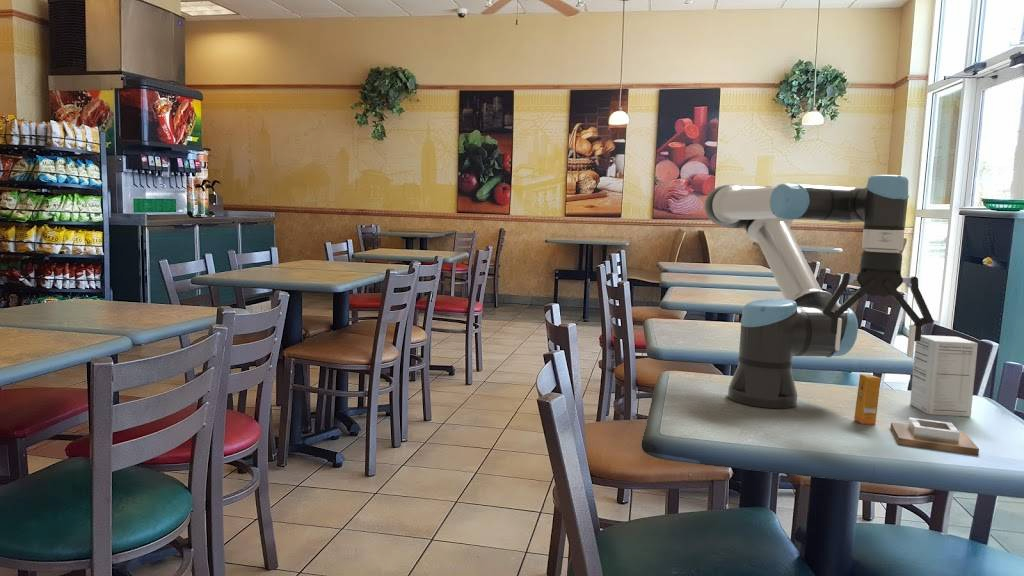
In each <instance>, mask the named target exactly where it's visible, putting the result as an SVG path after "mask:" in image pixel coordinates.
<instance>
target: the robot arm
mask: <svg viewBox="0 0 1024 576" xmlns="http://www.w3.org/2000/svg"><path fill="white" fill-rule="evenodd" d="M867 179H868V180H867V184H866V186H857V187H853V186H852V187H851V186H836V185H835V186H834V185H817V184H816V185H815V184H800V183H797V182H794V183H793V182H790V183H789V182H788V183H780V184H777V185H776V186H771V185H770V186H769V185H768V186H765V185H764V186H755V185H742V184H741V185H740V184H724V185H720V186H718V187H715V188H714V189H712V190H710V192H709V193H708V195H707V196H706V199H705V201H704V212H705V214H706V216H707V217H708V220H710V221H711V222H712V223H714V224H715V225H717V226H720V227H723V228H728V229H743V230H745V231H746V234H747V236H748V237H749V239H750V240H751V241H753V242H754V243H757V244H758V245H759V247H760V249H761V252H762V254H763V256H764V259H765V261H766V262H767V264H768V266H769V269H770V271H771V274H772V275H773V277H774V279H775V281H776V283H777V286H778V288H779V290H780V292H781V294H782V296H783V298H779V299H774V298H769V299H768V298H767V299H766V298H765V299H757V300H753V301H749V302H748V303H746V304H745V305H744V306H743V309H742V313H741V318H740V336H739V349H738V362H737V367H736V369H735V371H734V374H733V375H732V378H731V381H730V383H729V385H728V389H727V391H728V392H727V397H728V398H729V399H730V400H732V401H734V402H735V403H740V404H744V405H747V406H751V407H752V406H753V407H758V408H765V409H767V408H768V409H790V408H794V407H796V406H797V405H798V393H797V392H798V391H797V387H796V385H795V380H794V376H793V372H792V368H793V367H792V366H793V365H792V364H793V357H826V358H832V357H841V356H844V355H847V353H849V352H850V351H851V350H852V349H853V347H854V346H855V343H856V341H857V337H858V333H859V324H858V318H857V315H856V313H855V312H854V311H853V310H852V308H851V307H852V306H853V305H855V303H856V302H858V300H860V298H862V297H863V296H864V295H865V294H866V295H868V296H870V297H871V296H872V297H877V296H880V297H882V298H883V297H884V298H887V297H890V296H892V298H893V299H894V300H895V301H896V303H898V305H899V306H900V307H901V308H902V309H903V311H904V312H905V313H906V315H907V316H908V317H909V319H911V321H912V322H913V323H910V324H909V329H908V339H907V346H906V347H907V348H906V350H907V351H906V356H907V357H908V358H911V359H914V353H915V342H916V341H920V339H921V335H922V329H923V326H924V325H927V324H932V323H933V322H934V318H933V316H932V314H931V313H930V311H929V308H928V306H927V304H926V301H925V300H924V297H923V295H922V293H921V291H920V288H919V278H918V277H916V276H915V275H911V276H909V277H908V276H907V277H904V276H902V265H903V263H902V262H903V254H902V253H900V251H902V250H903V249H904V243H905V242H904V240H905V229H906V228H905V227H906V219H907V211H908V202H909V197H910V195H909V179H908V177H906V176H905V175H901V174H900V175H897V174H875V175H872V176H870V177H868V178H867ZM794 220H799V221H800V220H803V221H824V222H825V221H827V222H838V223H847V224H848V223H849V224H850V223H863V229H862V230H863V233H862V240H861V241H862V243H861V244H862V245H861V248H862V249H864V251H862V252H861V254H860V256H861V257H860V267H859V272H858V274H855V273H854V274H853V273H849V272H848V271H845V272H843V273H842V279H841V282H840V284H839V285H838V287H837V288H836V289H835V291H834V293H833V294H832V293H830V291H825V290H822V288H821V286H820V284H819V282H818V280H817V278H816V276H815V275H814V272H813V271H812V268H811V266H810V265H809V263H808V261H807V260H806V257H805V255H804V253H803V251H802V250H801V248H800V246H799V244H798V241H797V239H796V237H795V236H794V234H793V232H792V230H791V226H792V223H793V221H794ZM854 281H857V282H858V283H857V284H858V285H860V287H859V288H858V289H857V290H856V291H855V292H854V293H853V294H852V295H851V296H849V298H847V299H845V301H844V302H843V303H842V304H841V305H840V306H839V305H838V304H837V302H838V301H839V300H840V297H842V296H843V293H845V290H846V289H847V287H848V285H849V284H853V282H854ZM902 284H905V286H906V288H909V289H910V291H911V294H912V296H913V298H914V300H915V302H916V305H917V307H918V308H919V309H918V310H919V312H920V314H921V316H922V317H919V316H918V314H917V313H916V312H915V311H914V310H913V308H912V306H911V305H910V304H908V302H907V300H905V298H904V297H903V295H901V293H900V292H899V291H898V289H899V287H900V286H902Z"/></svg>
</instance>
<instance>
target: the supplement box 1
mask: <svg viewBox="0 0 1024 576" xmlns="http://www.w3.org/2000/svg"><path fill="white" fill-rule="evenodd" d="M881 379H882V378H881V377H878V376H876V375H872V374H865V373H864V374H863V373H860V374H859V379H858V388H857V394H856V395H857V396H856V401H855V402H856V403H855V409H854V417H853V419H854V421H856V422H859V423H860V424H863V425H876V421H877V413H878V407H879V406H878V404H879V395H880V387H881Z"/></svg>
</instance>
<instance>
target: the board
mask: <svg viewBox="0 0 1024 576" xmlns="http://www.w3.org/2000/svg"><path fill="white" fill-rule="evenodd" d="M908 424H909V423H908ZM908 424H907V423H899V422H894V421H892V422H890V430H891V432H892V434H893V436H894V438H895V440H896V442H897V444H898V445H900V446H901V445H903V446H910V447H917V448H924V449H931V450H937V451H938V450H939V451H944V450H945V452H952V453H961V454H967V455H973V456H979V451H980V448H979V447H978V446H977V444H976V443H975V442H974V441H973V440H972V439H971V437H970V436H969V435H968V433H966V432H965V431H961V430H960V431H959V430H958V431H959V432H960V436H959V443H954V442H947V441H940V440H932V439H925V438H918V437H914V436H913V435H912V433H911V431H910V429H909V428H908Z"/></svg>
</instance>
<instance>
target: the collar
mask: <svg viewBox="0 0 1024 576" xmlns="http://www.w3.org/2000/svg"><path fill="white" fill-rule="evenodd" d="M908 428H909V429H910V431H911V433H912V435H913V436H914V437H918V438H925V439H932V440H940V441H947V442H954V443H959V436H960V432H959V430H958V429H957V427H956V426H955V425H954V424H953V423H952V422H950V421H949V422H948V421H939V420H932V419H926V418H925V419H924V418H917V417H909V418H908Z"/></svg>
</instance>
